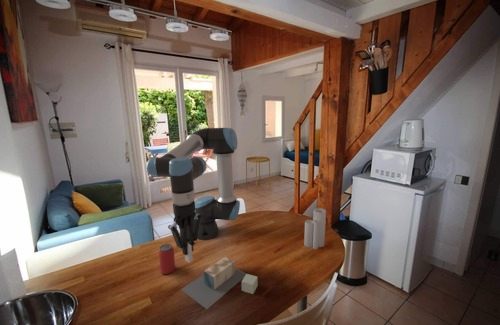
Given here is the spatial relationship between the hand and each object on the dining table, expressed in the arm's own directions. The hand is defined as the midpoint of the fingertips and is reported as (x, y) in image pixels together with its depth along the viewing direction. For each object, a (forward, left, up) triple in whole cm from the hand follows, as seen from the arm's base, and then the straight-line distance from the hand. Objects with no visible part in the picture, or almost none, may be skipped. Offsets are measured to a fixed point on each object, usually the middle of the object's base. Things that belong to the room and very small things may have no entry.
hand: (188, 260), depth 85 cm
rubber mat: (0, +12, -18) cm, 22 cm away
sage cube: (+14, +18, -18) cm, 29 cm away
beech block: (0, +8, -14) cm, 16 cm away
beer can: (-24, +4, -18) cm, 30 cm away
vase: (+22, +66, -18) cm, 72 cm away
